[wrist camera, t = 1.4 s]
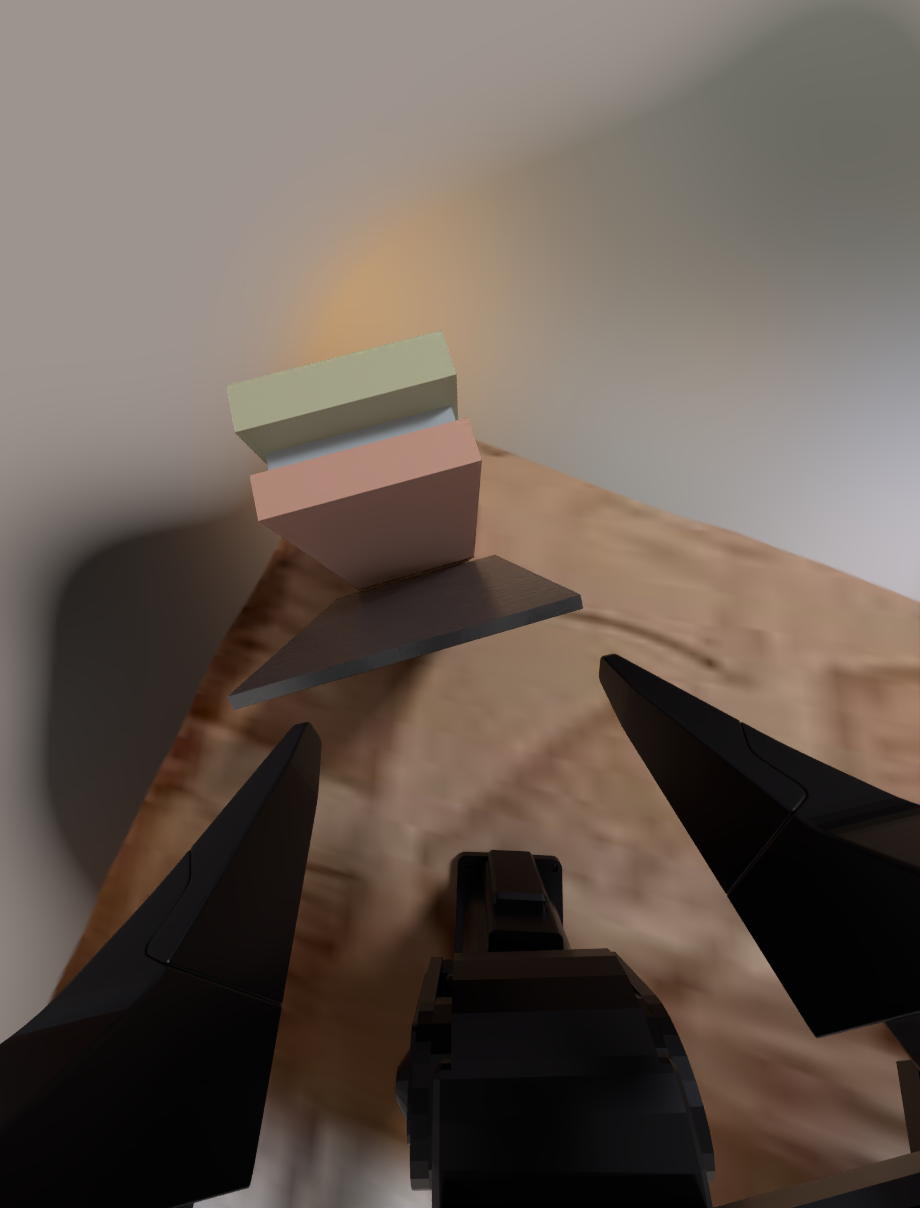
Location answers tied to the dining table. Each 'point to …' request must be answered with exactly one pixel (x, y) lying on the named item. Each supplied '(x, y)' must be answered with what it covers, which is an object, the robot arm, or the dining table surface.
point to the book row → (365, 459)
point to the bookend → (407, 624)
